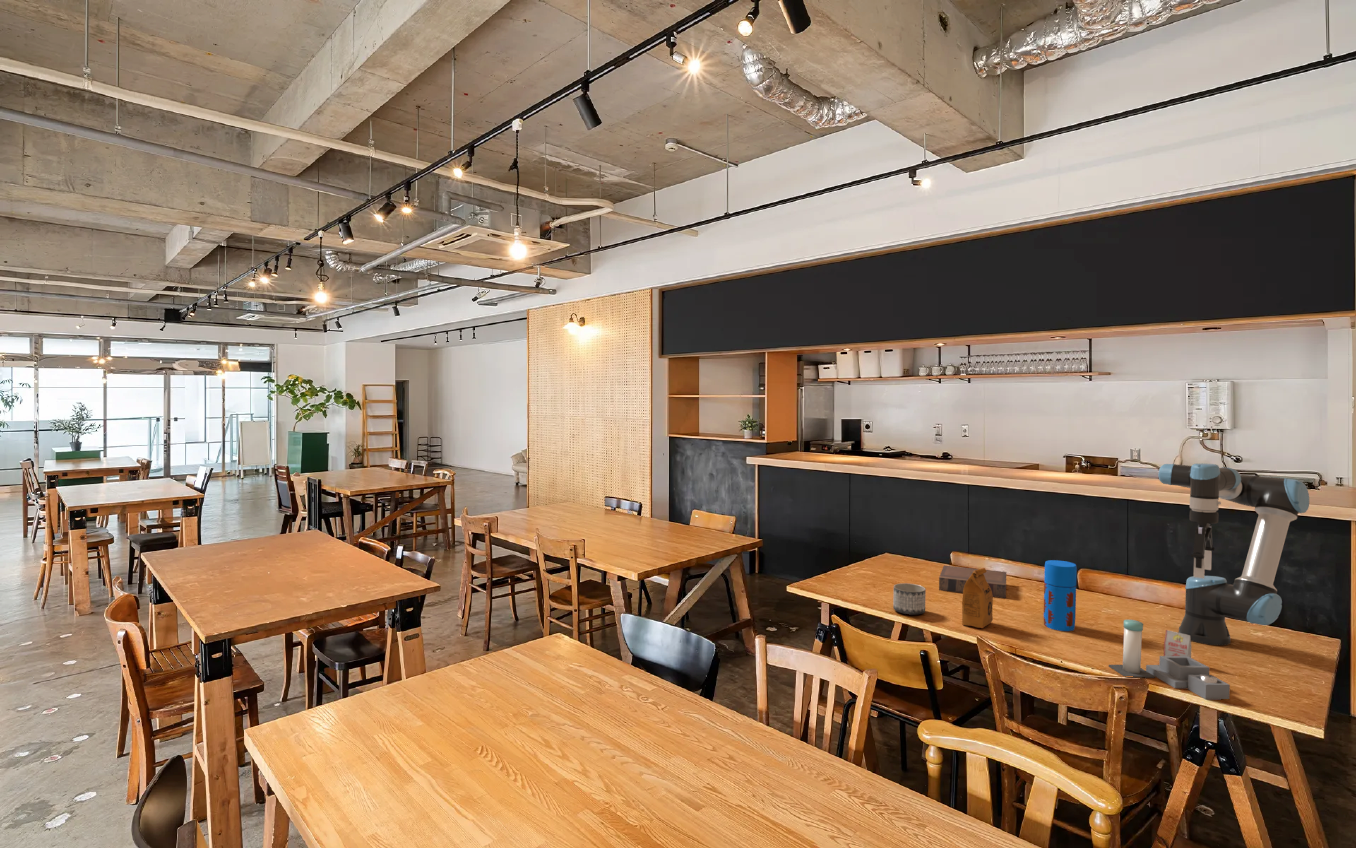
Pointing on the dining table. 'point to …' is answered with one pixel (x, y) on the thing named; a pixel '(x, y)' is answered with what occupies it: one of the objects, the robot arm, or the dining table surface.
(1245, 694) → the dining table surface
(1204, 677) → the shiny grey domed cylinder
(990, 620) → the coffee package
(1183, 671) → the housing
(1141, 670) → the mat
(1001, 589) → the book
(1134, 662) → the white and teal cylinder
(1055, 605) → the thermos
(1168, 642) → the white printed box
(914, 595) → the planter
